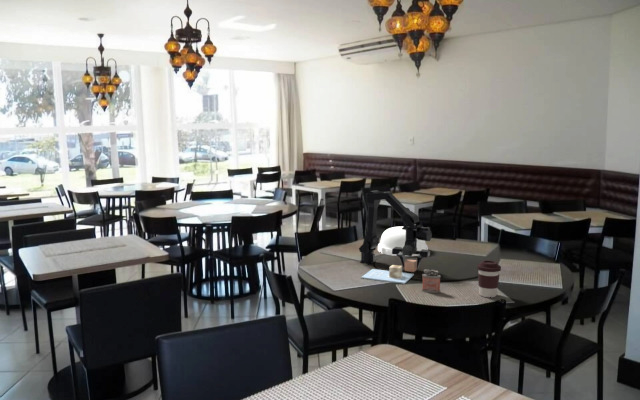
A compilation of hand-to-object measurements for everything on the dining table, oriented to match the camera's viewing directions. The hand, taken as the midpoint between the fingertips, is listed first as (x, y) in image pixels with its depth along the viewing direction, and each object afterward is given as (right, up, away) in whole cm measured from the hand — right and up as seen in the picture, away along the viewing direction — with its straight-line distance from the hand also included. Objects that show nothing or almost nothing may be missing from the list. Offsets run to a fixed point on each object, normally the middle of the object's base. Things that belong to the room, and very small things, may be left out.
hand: (410, 268), depth 270 cm
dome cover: (+3, +5, +43) cm, 44 cm away
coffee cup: (+27, -7, -40) cm, 49 cm away
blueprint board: (-13, -3, -11) cm, 17 cm away
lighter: (+3, -6, -34) cm, 35 cm away
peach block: (0, -1, 0) cm, 1 cm away
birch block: (-10, -2, -13) cm, 16 cm away
